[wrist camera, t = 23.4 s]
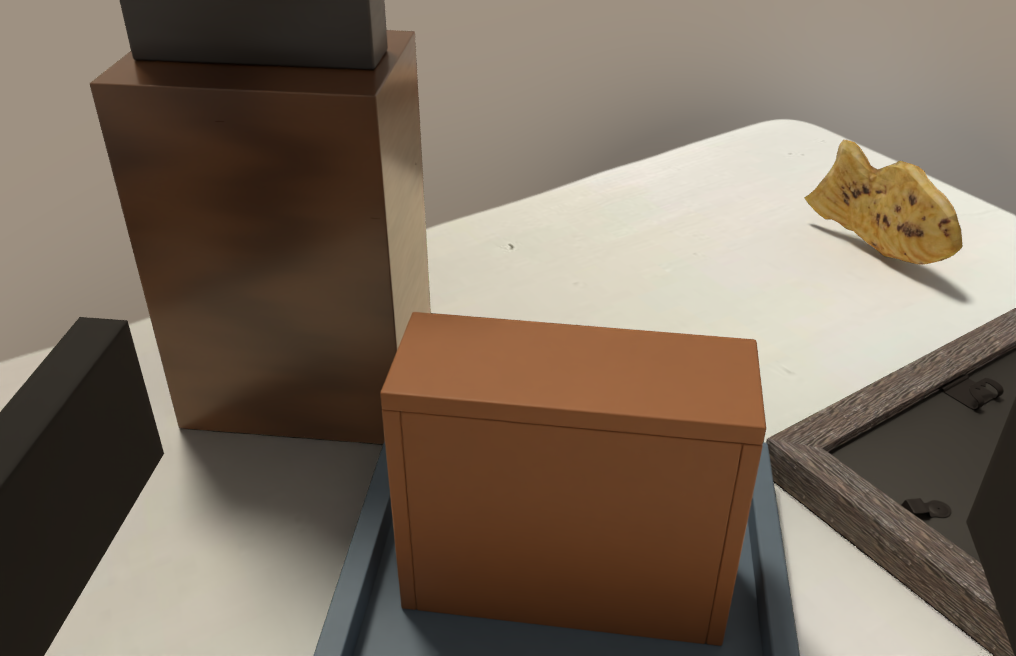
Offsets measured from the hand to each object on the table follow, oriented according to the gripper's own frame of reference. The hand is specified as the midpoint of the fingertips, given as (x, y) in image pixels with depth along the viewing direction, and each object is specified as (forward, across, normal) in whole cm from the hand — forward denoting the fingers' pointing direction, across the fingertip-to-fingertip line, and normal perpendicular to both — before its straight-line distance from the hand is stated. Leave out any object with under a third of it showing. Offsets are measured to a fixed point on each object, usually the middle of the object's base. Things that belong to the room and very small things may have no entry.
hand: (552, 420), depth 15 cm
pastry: (+33, +14, -16) cm, 39 cm away
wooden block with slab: (+19, -11, -15) cm, 26 cm away
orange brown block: (+9, 0, -15) cm, 18 cm away
